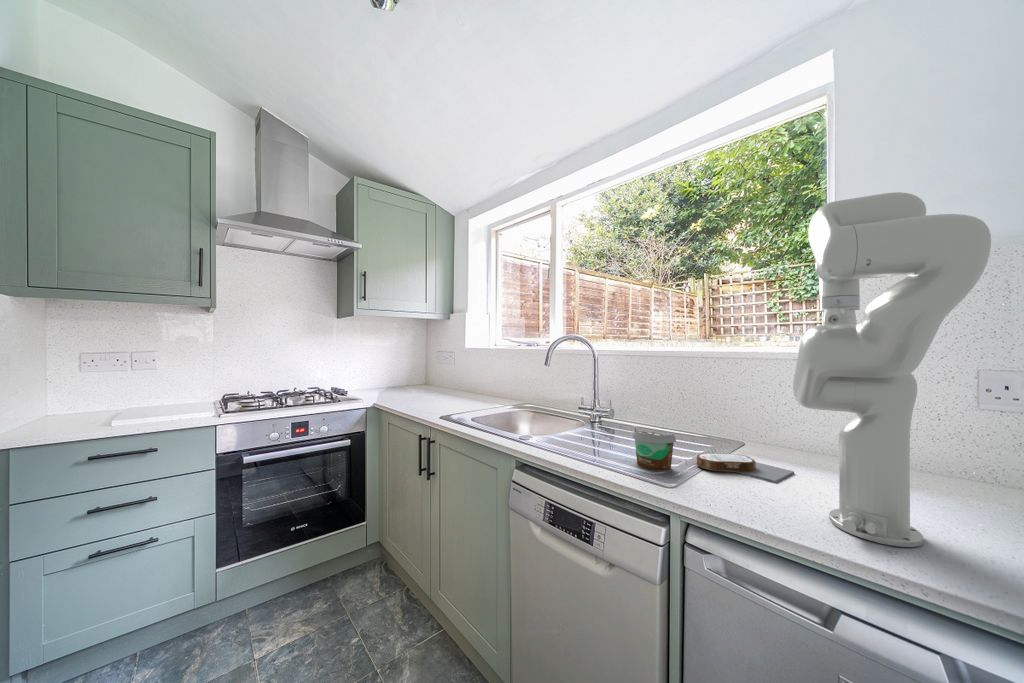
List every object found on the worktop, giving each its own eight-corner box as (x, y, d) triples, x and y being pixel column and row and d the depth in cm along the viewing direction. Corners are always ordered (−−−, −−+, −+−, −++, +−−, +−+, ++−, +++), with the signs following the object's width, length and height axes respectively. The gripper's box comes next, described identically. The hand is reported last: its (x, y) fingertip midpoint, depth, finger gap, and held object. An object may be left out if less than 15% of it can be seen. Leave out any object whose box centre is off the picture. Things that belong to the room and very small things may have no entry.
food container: (624, 465, 105) (624, 430, 105) (634, 460, 110) (633, 427, 110) (668, 475, 97) (668, 438, 97) (676, 469, 101) (676, 434, 101)
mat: (775, 483, 91) (775, 480, 91) (711, 465, 105) (711, 463, 105) (794, 473, 98) (794, 471, 98) (731, 458, 111) (731, 456, 111)
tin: (762, 472, 97) (745, 464, 105) (762, 460, 97) (745, 453, 106) (704, 470, 99) (692, 462, 107) (703, 459, 99) (691, 452, 107)
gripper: (852, 300, 83) (853, 381, 82) (865, 305, 92) (866, 378, 91) (810, 303, 89) (811, 378, 88) (827, 308, 98) (828, 376, 97)
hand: (839, 378), depth 90 cm, fingers closed
